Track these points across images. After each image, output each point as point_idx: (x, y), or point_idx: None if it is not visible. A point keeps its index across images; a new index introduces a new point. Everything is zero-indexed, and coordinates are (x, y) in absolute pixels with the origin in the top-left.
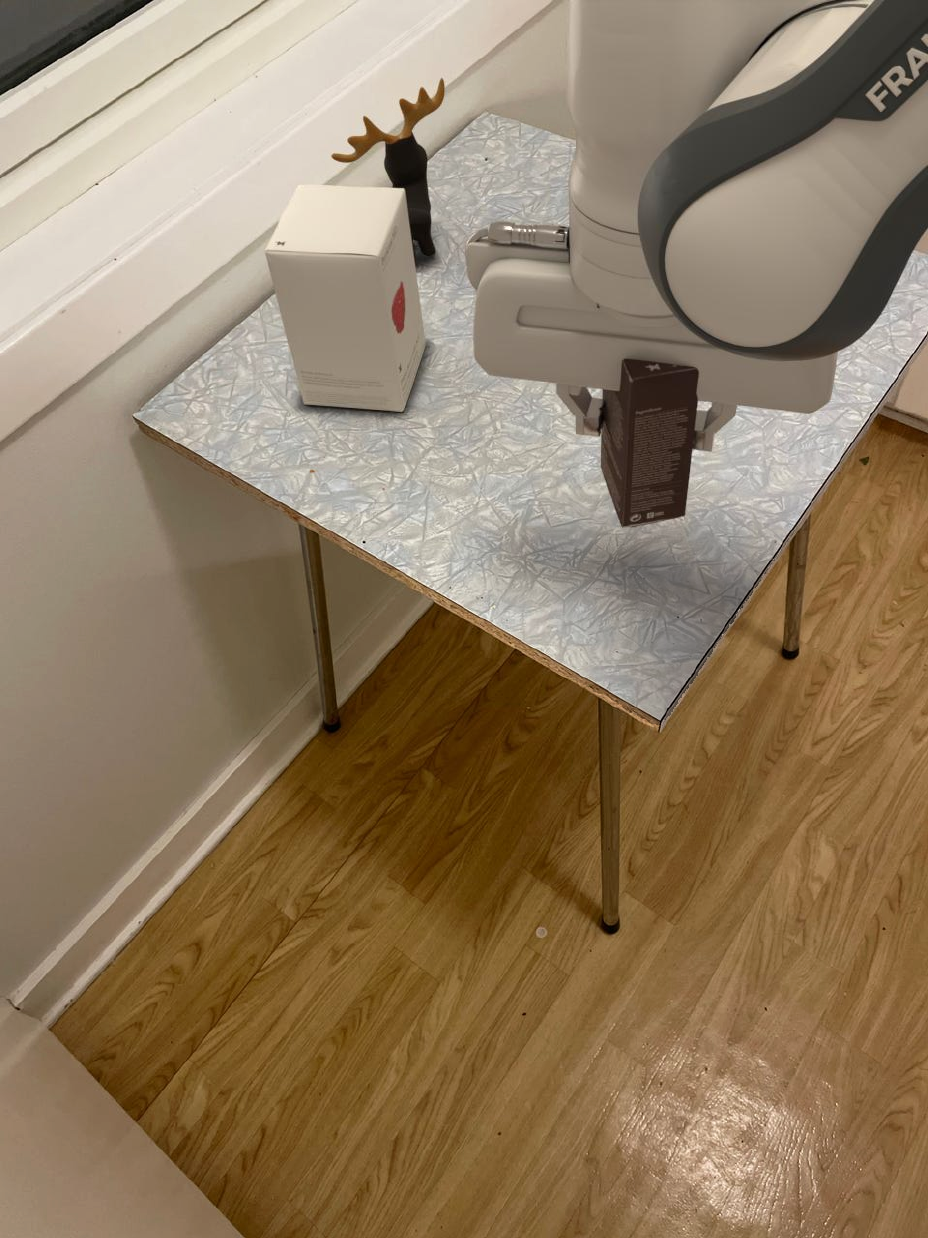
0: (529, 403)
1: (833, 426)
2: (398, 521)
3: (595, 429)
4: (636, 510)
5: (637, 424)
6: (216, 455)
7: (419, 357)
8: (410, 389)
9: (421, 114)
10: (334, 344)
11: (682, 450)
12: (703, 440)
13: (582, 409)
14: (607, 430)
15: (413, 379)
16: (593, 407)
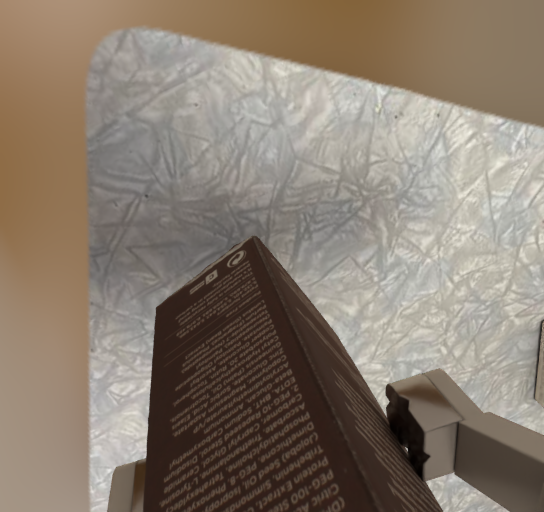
0: None
1: None
2: (519, 186)
3: (409, 398)
4: (238, 269)
5: (333, 503)
6: None
7: (542, 384)
8: (541, 348)
9: None
10: None
11: (167, 448)
12: (134, 495)
13: (479, 438)
14: (374, 406)
15: (541, 360)
16: (444, 451)
